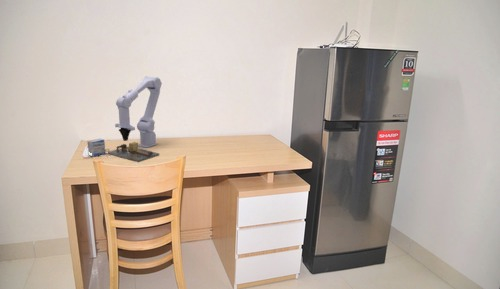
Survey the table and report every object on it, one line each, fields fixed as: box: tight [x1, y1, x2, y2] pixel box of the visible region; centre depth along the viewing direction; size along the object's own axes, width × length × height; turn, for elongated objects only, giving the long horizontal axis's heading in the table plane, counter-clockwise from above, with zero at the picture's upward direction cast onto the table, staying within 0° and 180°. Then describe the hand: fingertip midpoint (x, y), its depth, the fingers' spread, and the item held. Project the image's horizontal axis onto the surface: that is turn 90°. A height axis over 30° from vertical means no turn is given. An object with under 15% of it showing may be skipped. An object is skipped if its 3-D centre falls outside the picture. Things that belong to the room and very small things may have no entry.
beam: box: [116, 143, 153, 156], centre depth 189 cm, size 6×23×3 cm, turn 61°
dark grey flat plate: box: [107, 145, 160, 163], centre depth 191 cm, size 16×25×1 cm, turn 61°
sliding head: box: [127, 141, 139, 153], centre depth 190 cm, size 7×3×5 cm, turn 151°
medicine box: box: [86, 138, 106, 158], centre depth 186 cm, size 8×4×9 cm, turn 149°
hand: (125, 140), depth 194 cm, fingers closed
